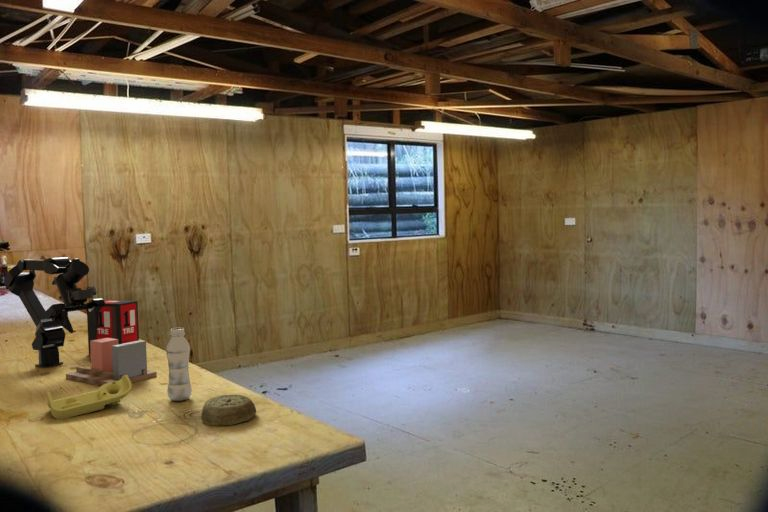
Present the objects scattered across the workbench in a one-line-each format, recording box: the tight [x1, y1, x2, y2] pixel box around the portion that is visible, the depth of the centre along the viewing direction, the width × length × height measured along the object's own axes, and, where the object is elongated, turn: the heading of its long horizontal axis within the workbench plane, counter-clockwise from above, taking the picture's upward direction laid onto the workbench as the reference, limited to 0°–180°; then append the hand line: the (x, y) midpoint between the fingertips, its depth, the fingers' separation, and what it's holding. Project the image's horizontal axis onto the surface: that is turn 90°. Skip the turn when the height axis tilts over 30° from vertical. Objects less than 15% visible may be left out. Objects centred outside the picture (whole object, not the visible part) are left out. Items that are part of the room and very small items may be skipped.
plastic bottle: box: [165, 327, 193, 402], centre depth 168 cm, size 6×7×20 cm
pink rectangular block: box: [90, 338, 118, 372], centre depth 196 cm, size 6×6×10 cm
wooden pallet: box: [65, 366, 158, 387], centre depth 195 cm, size 24×16×3 cm, turn 58°
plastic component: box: [46, 375, 133, 420], centre depth 162 cm, size 20×7×10 cm
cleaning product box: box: [86, 299, 140, 356], centre depth 232 cm, size 16×9×20 cm, turn 68°
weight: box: [200, 394, 257, 427], centre depth 152 cm, size 14×13×5 cm
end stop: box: [112, 339, 148, 381], centre depth 190 cm, size 3×10×10 cm, turn 148°
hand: (85, 330), depth 203 cm, fingers open, 9 cm apart
